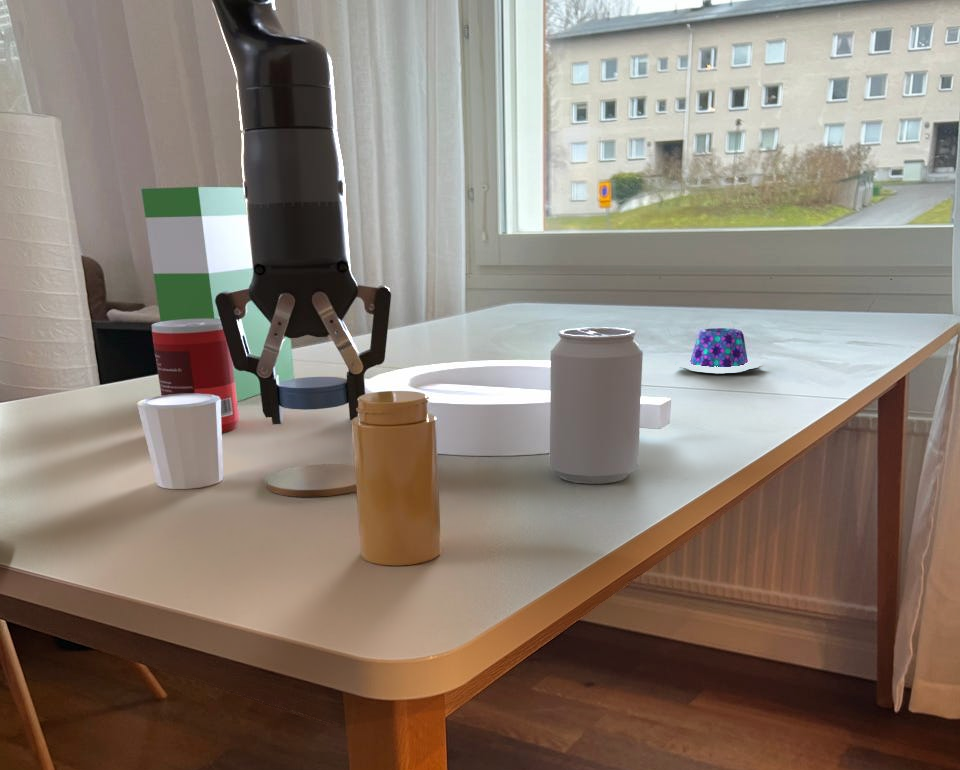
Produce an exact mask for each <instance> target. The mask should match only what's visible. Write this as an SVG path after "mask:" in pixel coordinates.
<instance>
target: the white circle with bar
mask: <svg viewBox="0 0 960 770" xmlns="http://www.w3.org/2000/svg"><path fill="white" fill-rule="evenodd" d="M550 372H551V360H535V359H533V360H531V359H528V360H527V359H502V360H501V359H499V360H498V359H497V360H495V359H494V360H472V361H471V360H470V361H469V360H468V361H456V362H454V361H453V362H443V363H433V364H425V365H417V366H410V367H405V368H400V369H394V370H391V371H386V372H383V373H379V374H376V375H374V376H372V377H370V378H364V383H365V394H369V393H374V392H383V391H414V392H420V393H424V394H426V395H428V397H429V402H428V414H431V415H434V416H435V417H436V433H437V455H449V456H450V455H451V456H467V457H468V456H469V457H470V456H472V457H508V456H509V457H511V456H530V455H543V454H550ZM671 409H672V398H667V397H652V396H641V404H640V427H639V429H649V430H661V429H663V428H665V426H667V425H669V424H670V423H671Z"/></svg>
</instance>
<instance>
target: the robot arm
mask: <svg viewBox="0 0 960 770" xmlns="http://www.w3.org/2000/svg"><path fill="white" fill-rule="evenodd" d="M211 3H212V6H213V9H214V12H215V15H216V17H217V21H218V24H219V27H220V30H221V33H222V37H223V39H224V42H225V44H226V48H227V50H228V54H229V56H230V57H229V58H230V59H231V62H232V66H233V69H234V74H235V81H236V91H237V102H238V112H239V113H238V114H239V121H240V122H239V123H240V130H241V169H242V181H243V182H242V188H243V194H244V197H245V200H246V209H247V219H248V228H249V237H250V246H251V255H252V264H253V277H252V281H251V283H250V285H249V288H247V289H242V290H237V291H233V292H229V291H223V292H221V293H219V294H218V295H217V296H216V298H215V303H216V307H217V310H218V313H219V317H220V320H221V324H222V327H223V331H224V334H225V338H226V341H227V345H228V348H229V352H230V355H231V358H232V362H233V365H234V367H235V368H236V369H237V370H239V371H246V372H250V373H253V374H255V375H256V376H257V377H258V379H259V382H260V391H261V394H260V398H261V399H260V401H261V409H262V413H263V415H264V416H265V418H266V419H267V418H271V424H272V425H282V424H283V421H284V420H283V407H281V406H280V405H279V396H278V387H277V384H278V383H279V377H278V375H276V374H275V365H276V362H277V359H278V356H279V353H280V350H281V347H282V345H283V342H284V339H285V337H288V338H291V339H299V338H302V337H305V336H310V337H315V338H328V336H329V337H330V338H331V340H332V342H333V344H334V345H335V347H336V349H337V350H338V352H339V354H340V356H341V358H342V360H343V361H344V364H345V365H346V367H347V370H348V371H346V379H347V388H348V401H349V403H348V412H349V413H348V414H349V421H350V422H351V421H352V419H353V418H355V417H358V416H359V412H357V409H356V408H358V397H360V396H362V395H364V394H365V383H364V379H365V374H366V372H367V371H368V370H369V369H371V368H373V367H376V366H380V365H382V364H384V362H385V359H386V352H387V351H386V350H387V341H388V330H389V320H390V312H391V311H390V310H391V301H392V292H391V291H390V287H388V286H387V285H385V284H384V285H383V284H382V285H379V286H373V285H366V284H359V283H358V282H357V279H356V278H355V277H354V275H353V272H352V269H351V257H350V245H349V244H350V243H349V231H348V229H349V228H348V216H347V215H348V214H347V204H346V203H347V202H346V201H347V200H346V183H345V173H344V165H343V158H342V152H341V148H340V143H339V136H338V131H337V130H338V125H337V113H336V100H335V99H336V98H335V85H334V72H333V65H332V59H331V57H330V54H329V51H328V50H327V48H326V47H325V46H324V45H323V44H322V43H321V42H319V41H317V40H315V39H312V38H308V37H304V36H300V35H292V34H287V33H286V31H285V29H284V27H283V26H282V23H281V21H280V19H279V15H278V13H277V10H276V9H277V8H276V5H275V0H211ZM357 298H359V299H360V300H361V301H362V302H363V306H364V307H363V308H364V311H365V312H366V313H367V314H369V315H372V324H371V335H370V346H369V349H367V350H364V351H362V352H360V351H359V350H358V348H357V345H356V344H355V343H354V341H353V338H352V336H351V334H350V332H349V330H348V328H347V326H346V324H345V322H344V319H345V318H346V316H347V314H348V312H349V311H350V309H351V307H352V306H353V304H354V302H355V301H356V299H357ZM249 301H252V302H253V303H254V304H255V305H256V306H257V308H258V309H259V310H260V311H261V313H262V314H263V315H264V316H265V317H266V319H267V320H268V321H269V322H270V323H271V325H270V328H269V332H268V335H267V338H266V341H265V344H264V348H263V351H262V354H261V357H258V356H255V355H252V354H250V351H249V348H248V344H247V340H246V337H245V333H244V330H243V326H242V323H241V319H242V318H243V317H244V316H245V315H246V314H247V304H248V302H249Z"/></svg>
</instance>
